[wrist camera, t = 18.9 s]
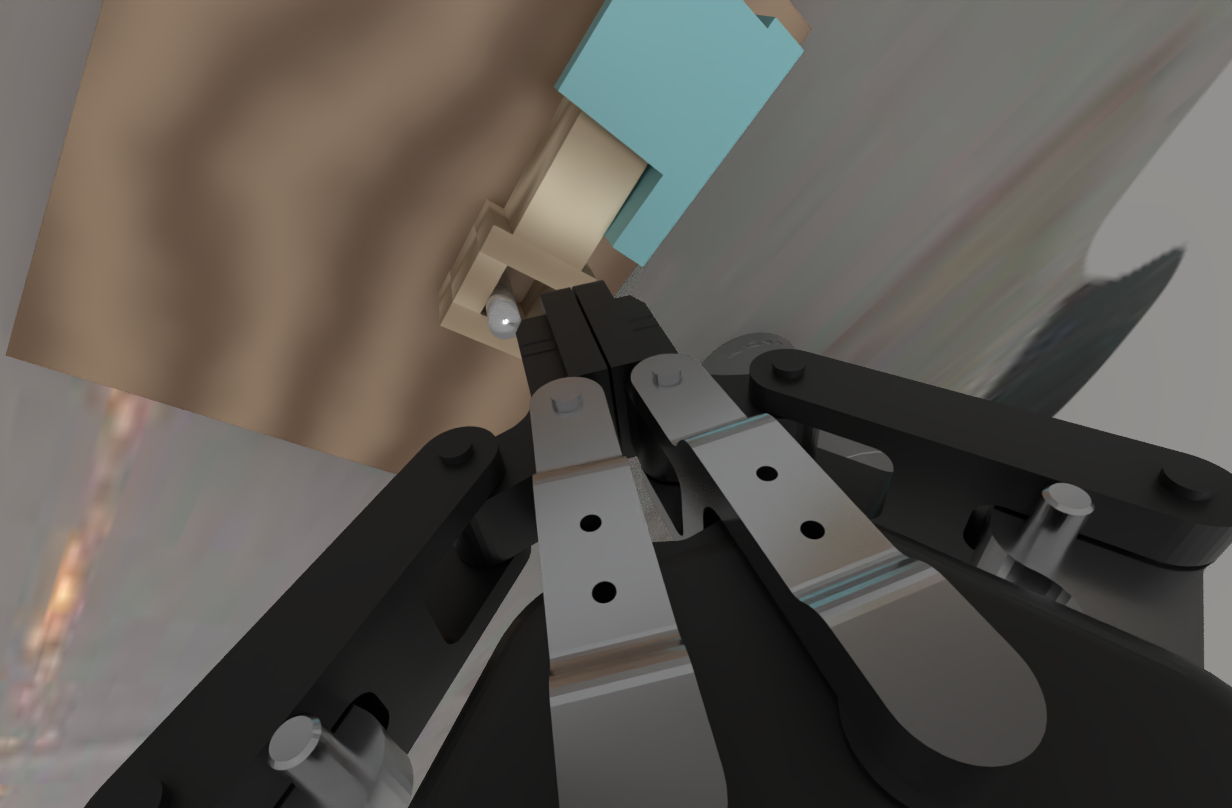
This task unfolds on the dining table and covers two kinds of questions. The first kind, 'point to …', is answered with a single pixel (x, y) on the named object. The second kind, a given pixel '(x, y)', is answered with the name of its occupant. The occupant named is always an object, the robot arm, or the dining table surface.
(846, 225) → the dining table surface
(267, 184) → the walnut board
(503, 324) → the rod
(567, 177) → the maple link
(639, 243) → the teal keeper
